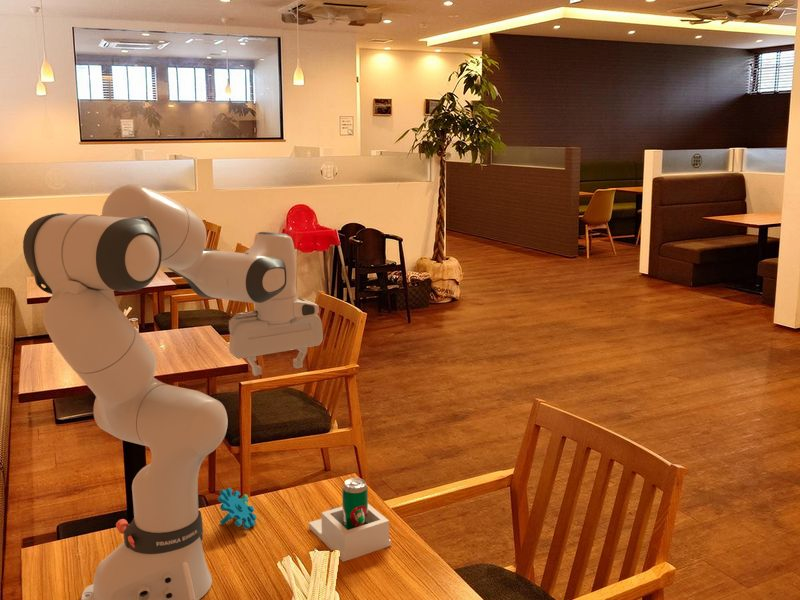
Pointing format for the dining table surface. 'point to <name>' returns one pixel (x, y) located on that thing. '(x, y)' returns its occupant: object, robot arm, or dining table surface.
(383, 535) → the box
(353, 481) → the soda can
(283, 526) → the dining table surface
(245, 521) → the teal lobed piece
